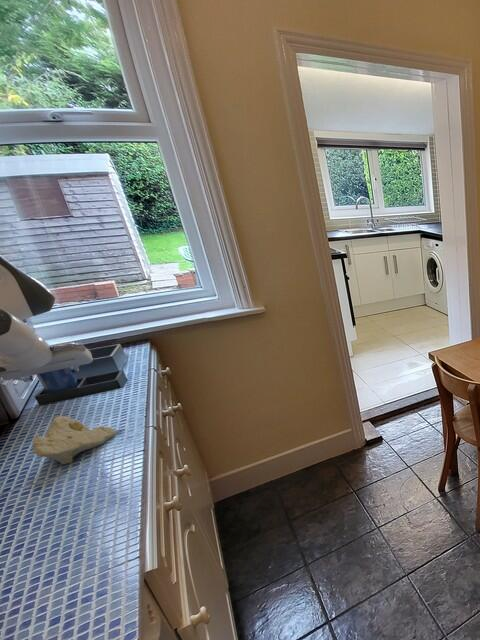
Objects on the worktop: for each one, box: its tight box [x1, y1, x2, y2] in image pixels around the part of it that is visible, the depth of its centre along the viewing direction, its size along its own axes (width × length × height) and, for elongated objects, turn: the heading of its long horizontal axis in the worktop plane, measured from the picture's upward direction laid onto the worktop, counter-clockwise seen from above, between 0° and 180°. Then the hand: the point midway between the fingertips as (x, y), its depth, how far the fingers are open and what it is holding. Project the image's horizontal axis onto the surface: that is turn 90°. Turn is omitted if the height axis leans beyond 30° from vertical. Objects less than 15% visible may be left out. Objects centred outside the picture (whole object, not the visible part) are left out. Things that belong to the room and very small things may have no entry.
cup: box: [35, 368, 79, 394], centre depth 120 cm, size 7×7×11 cm
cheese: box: [32, 415, 117, 465], centre depth 92 cm, size 15×7×15 cm
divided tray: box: [34, 369, 128, 407], centre depth 123 cm, size 18×9×4 cm, turn 123°
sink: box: [72, 343, 128, 379], centre depth 138 cm, size 14×14×6 cm
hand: (53, 374), depth 117 cm, fingers open, 8 cm apart
